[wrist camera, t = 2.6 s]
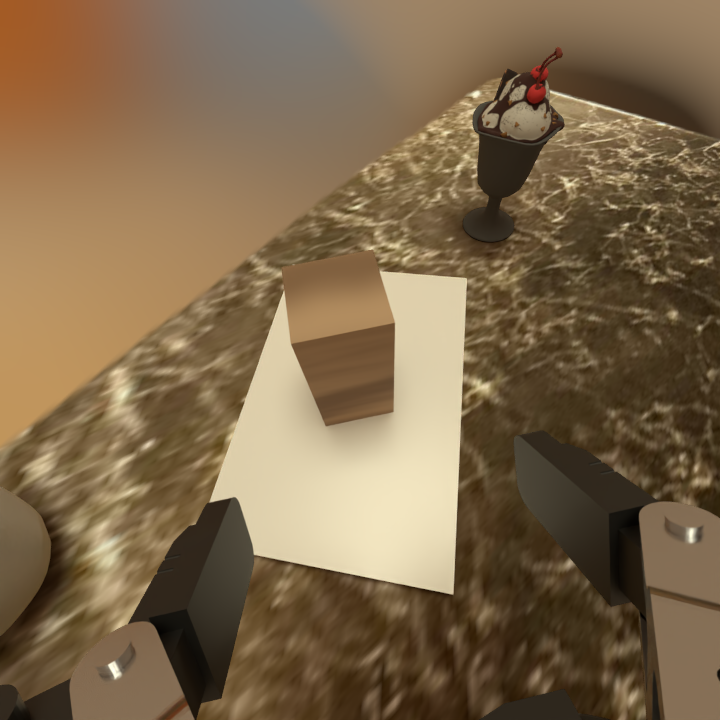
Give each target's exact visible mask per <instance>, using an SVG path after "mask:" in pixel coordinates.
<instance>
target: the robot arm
mask: <svg viewBox="0 0 720 720" xmlns="http://www.w3.org/2000/svg"><path fill="white" fill-rule="evenodd" d="M514 452H515V462H516V473H517V483H518V488H519V492H520V495H521V497H522V499H523V501H524V503H525V505H526V506H527V507H528V509H529V510H530V511H531V512H532V513H533V515H534V516H535V517H536V518H537V519H538V520H539V522H540V523H541V524H542V525H543V526H544V528H545V529H546V530H547V531H548V532H549V534H550V535H551V536H552V537H553V538H554V539H555V541H556V542H557V543H558V544H559V545H560V547H561V548H562V549H563V550H564V551H565V553H566V554H567V555H568V556H569V557H570V559H571V560H572V561H573V562H574V563H575V564H576V566H577V567H578V568H579V569H580V570H581V572H582V573H583V574H584V575H585V576H586V578H587V579H588V580H589V581H590V582H591V584H592V585H593V586H594V587H595V588H596V589H597V591H598V592H599V593H600V594H601V595H602V597H603V598H604V599H605V600H606V601H607V603H608V604H609V605H610V606H611V607H612V606H616V605H620V604H624V603H629V602H632V603H633V604H634V605H635V606H636V608H637V609H638V610H639V629H640V642H641V654H642V667H643V680H644V693H645V705H646V720H720V518H718V517H717V516H715V515H713V514H711V513H710V512H708V511H705V510H703V509H700V508H698V507H695V506H691V505H687V504H683V503H677V502H659V501H658V500H656V499H655V498H653V497H652V496H650V495H649V494H648V493H646V492H645V491H643V490H642V489H640V488H639V487H638V486H636V485H635V484H633V483H632V482H630V481H629V480H628V479H626V478H625V477H623V476H622V475H621V474H619V473H618V472H614V470H613V469H612V468H611V467H609V466H608V465H606V464H605V463H602V462H601V460H599V459H598V458H596V457H595V456H593V455H592V454H591V453H589V452H588V451H586V450H584V449H581V448H578V447H576V446H573V445H570V444H567V443H565V444H561V443H560V442H558V441H557V440H556V439H554V438H553V437H552V436H550V435H549V434H548V433H546V432H545V431H536V432H532V433H527V434H523V435H518V436H516V437H515V438H514ZM253 565H254V551H253V545H252V541H251V538H250V535H249V532H248V528H247V525H246V522H245V519H244V516H243V512H242V509H241V506H240V503H239V501H238V499H237V498H236V497H232V498H228V499H223V500H219V501H214V502H210V503H207V504H206V505H205V507H204V509H203V511H202V513H201V515H200V517H199V519H198V521H197V523H196V525H192V526H189V527H188V528H187V529H186V530H185V531H184V532H183V533H182V534H181V535H180V536H179V537H178V538H177V539H176V540H175V541H174V542H173V544H172V545H171V547H170V549H169V551H168V553H167V554H166V556H165V561H163V562H162V563H161V565H160V567H159V569H158V571H157V575H155V576H154V578H153V580H152V581H151V583H150V585H149V587H148V589H147V590H146V592H145V594H144V596H143V598H142V599H141V601H140V603H139V605H138V607H137V608H136V610H135V612H134V614H133V616H132V617H131V619H130V621H129V623H128V625H125V626H123V627H121V628H119V629H117V630H115V631H113V632H112V633H110V634H108V635H107V636H106V637H104V638H103V639H102V640H100V641H99V642H98V643H97V644H96V645H95V646H94V647H93V648H92V649H91V650H89V652H88V653H87V654H86V655H85V656H84V657H83V659H82V660H81V661H80V663H79V664H78V666H77V667H76V669H75V671H74V673H73V675H72V677H71V679H69V680H67V681H65V682H63V683H61V684H59V685H57V686H55V687H53V688H51V689H49V690H47V691H45V692H43V693H41V694H39V695H37V696H35V697H33V698H31V699H29V700H27V701H25V702H24V701H23V700H22V698H21V696H20V694H19V693H18V691H17V689H16V688H15V687H14V686H12V685H0V720H196V719H197V715H198V712H199V708H200V705H201V703H204V702H208V701H213V700H217V699H221V698H222V694H223V690H224V685H225V681H226V677H227V673H228V669H229V665H230V661H231V657H232V652H233V648H234V644H235V640H236V636H237V632H238V628H239V624H240V620H241V615H242V611H243V607H244V603H245V599H246V595H247V591H248V587H249V583H250V578H251V574H252V570H253ZM480 720H609V719H606V718H602V717H597V716H593V715H588V714H578V712H577V710H576V708H575V707H574V705H573V703H572V701H571V700H570V698H569V696H568V694H567V693H566V691H565V689H562V690H558V691H554V692H550V693H546V694H541V695H537V696H533V697H529V698H525V699H521V700H517V701H513V702H509V703H505V704H503V705H501V706H500V707H498V708H497V709H495V710H494V711H492V712H490V713H489V714H487V715H486V716H484V717H483V718H481V719H480Z"/></svg>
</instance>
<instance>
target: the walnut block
mask: <svg viewBox="0 0 720 720" xmlns="http://www.w3.org/2000/svg"><path fill="white" fill-rule="evenodd" d="M282 276H283V284H284V292H285V300H286V309H287V317H288V325H289V333H290V342H291V346H292V348H293V350H294V353H295V355H296V357H297V360H298V362H299V364H300V367H301V369H302V372H303V374H304V376H305V379H306V381H307V383H308V386H309V388H310V390H311V393H312V395H313V397H314V400H315V402H316V404H317V407H318V409H319V412H320V414H321V416H322V419H323V421H324V423H325V426H330V425H335V424H340V423H344V422H349V421H354V420H358V419H363V418H368V417H373V416H377V415H382V414H387V413H391V412H394V358H395V321H394V317H393V314H392V311H391V308H390V304H389V301H388V298H387V294H386V291H385V288H384V285H383V281H382V278H381V275H380V271H379V268H378V265H377V262H376V258H375V255H374V252H373V250H368V251H363V252H358V253H353V254H348V255H343V256H337V257H332V258H327V259H322V260H317V261H312V262H307V263H302V264H296V265H291V266H286V267H282Z"/></svg>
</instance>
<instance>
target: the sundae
mask: <svg viewBox="0 0 720 720" xmlns="http://www.w3.org/2000/svg"><path fill="white" fill-rule="evenodd" d="M554 55H556V57H555V58H554V59H552V60H550V61H549V62H548V63H547V64H546V65H545V66H544V64H545V63H546V62H547V61H548V59H549V58H551V57H552V56H554ZM562 55H563V53H562V51H561V48H559V47H557V48H556V51H555V52H554V53H553V54H552V55H550V56H549V57H548V58H547V59H546V60H545V61H544V62H543V64H542V65H541V66H537V67H535V68H534V69H533V70H532V71H531V72H526V73H522V74H518V73H516V72H514V71H512V70H510V69H507V70H506V71H505V73H504V75H503V77H502V80H501V82H500V85H499V88H498V91H497V93H496V96H495V99H494V101H489V102H485V103H482V104H480V105H479V106H478V107H477V108H476V110H475V111H474V114H473V122H472V123H473V128H474V130H475V132H476V133H478V134H479V155H478V168H477V172H478V184H479V186H480V187H481V189H482V190H483V191H484V193H486V194H487V195H488V196H489V200H488V204H487V207H482V208H477V209H474V210H472V211H471V212H469V213H468V214H467V215H466V216H465V218H464V219H463V227H464V229H465V231H466V233H468V234H469V235H470V236H471V237H473V238H475V239H477V240H480V241H484V242H496V241H500V240H503V239H505V238H507V237H508V236H510V235H511V233H512V232H513V230H514V222H513V220H512V218H511V217H510V216H509V215H508V214H507V213H505V212H504V211H501V210H499V207H500V203H501V200H502V198H504V197H508V196H510V195H512V194H514V193H515V192H517V191H518V190H519V189H520V188H521V187H522V185H523V184H524V182H525V180H526V179H527V177H528V176H529V174H530V172H531V170H532V168H533V166H534V163H535V161H536V159H537V157H538V155H539V153H540V151H541V149H542V148H543V146H544V145H545V144H546V143H547V141H548V140H549V139H550V138H552V137H553V136H554V135H555V134H556V133H557V132H558V131H560V130H562V129H563V128H564V120H563V118H562V116H560V115H559V114H558V113H557V112H556V111H555V109H554V108H553V107H552V106H551V105H549V96H550V91H549V86H548V83H547V81H546V78H547V76H548V70H547V68H546V67H547V65H548V64H550V63H551V62H552V61H554V60H556V59H558V58H561V57H562Z"/></svg>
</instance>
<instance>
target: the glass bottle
mask: <svg viewBox="0 0 720 720" xmlns="http://www.w3.org/2000/svg"><path fill="white" fill-rule="evenodd" d="M50 555H51V540H50V537H49V535H48V532H47V529H46V527H45V524H44V521H43V519H42V517H41V516H40V514H39V513H38V512H37V511H36V510H35V509H34V508H33V507H32V506H30V505H29V504H28V503H26V502H25V501H23V500H22V499H20V498H19V497H17V496H16V495H14V494H13V493H11V492H9V491H8V490H6V489H4V488H2V487H0V636H1V635H2V634H4V633H5V632H6V631H7V630H8V629H9V628H10V626H11V625H12V624H13V623H14V622H15V621H16V620H17V618H18V617H19V616H20V615H21V614H22V612H23V611H24V610H25V608H26V607H27V606H28V605H29V603H30V602H31V601H32V599H33V598H34V596H35V595H36V593H37V592H38V590H39V588H40V587H41V585H42V583H43V581H44V578H45V576H46V574H47V570H48V566H49V562H50Z"/></svg>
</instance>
